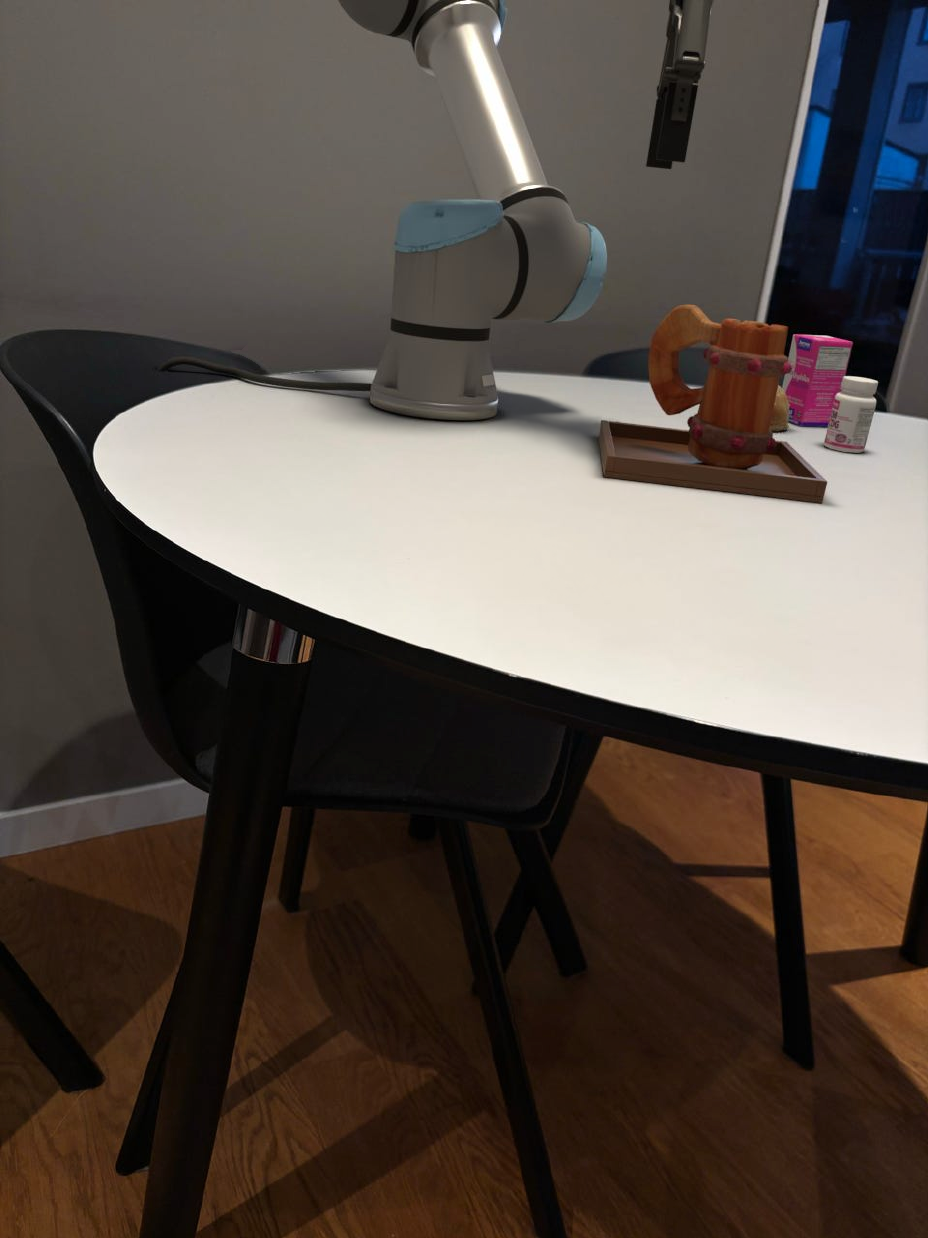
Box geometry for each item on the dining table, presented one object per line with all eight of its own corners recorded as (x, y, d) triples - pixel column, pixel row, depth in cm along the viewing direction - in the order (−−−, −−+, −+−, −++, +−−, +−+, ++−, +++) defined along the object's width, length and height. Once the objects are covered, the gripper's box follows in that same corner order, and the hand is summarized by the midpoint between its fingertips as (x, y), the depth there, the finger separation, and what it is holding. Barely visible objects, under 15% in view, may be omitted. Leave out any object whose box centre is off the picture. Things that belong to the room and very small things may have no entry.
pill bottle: (814, 444, 120) (831, 374, 117) (841, 443, 123) (858, 375, 119) (845, 453, 116) (862, 382, 113) (872, 453, 119) (890, 382, 116)
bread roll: (776, 461, 126) (815, 408, 123) (712, 420, 124) (750, 365, 122) (756, 445, 135) (792, 394, 133) (695, 406, 133) (731, 354, 131)
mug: (781, 469, 102) (815, 319, 96) (755, 480, 95) (789, 320, 90) (653, 441, 109) (677, 300, 103) (620, 450, 103) (644, 300, 97)
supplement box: (773, 417, 137) (792, 332, 132) (808, 418, 139) (827, 335, 134) (799, 426, 132) (819, 338, 127) (835, 427, 134) (856, 341, 129)
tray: (603, 476, 93) (607, 455, 92) (598, 438, 110) (601, 419, 110) (822, 503, 92) (827, 481, 91) (782, 460, 109) (786, 441, 108)
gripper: (770, -123, 80) (717, 161, 88) (726, -47, 103) (687, 173, 111) (678, -132, 80) (634, 152, 89) (654, -54, 103) (621, 166, 112)
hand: (663, 164), depth 100 cm, fingers open, 13 cm apart
